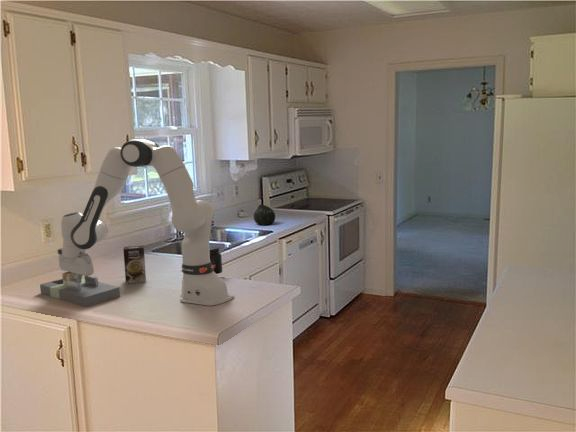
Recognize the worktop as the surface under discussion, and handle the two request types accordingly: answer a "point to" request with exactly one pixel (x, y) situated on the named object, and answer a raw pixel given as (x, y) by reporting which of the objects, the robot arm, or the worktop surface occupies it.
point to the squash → (264, 215)
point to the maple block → (67, 277)
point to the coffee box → (134, 264)
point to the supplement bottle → (216, 259)
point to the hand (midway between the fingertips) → (77, 282)
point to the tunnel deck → (81, 291)
